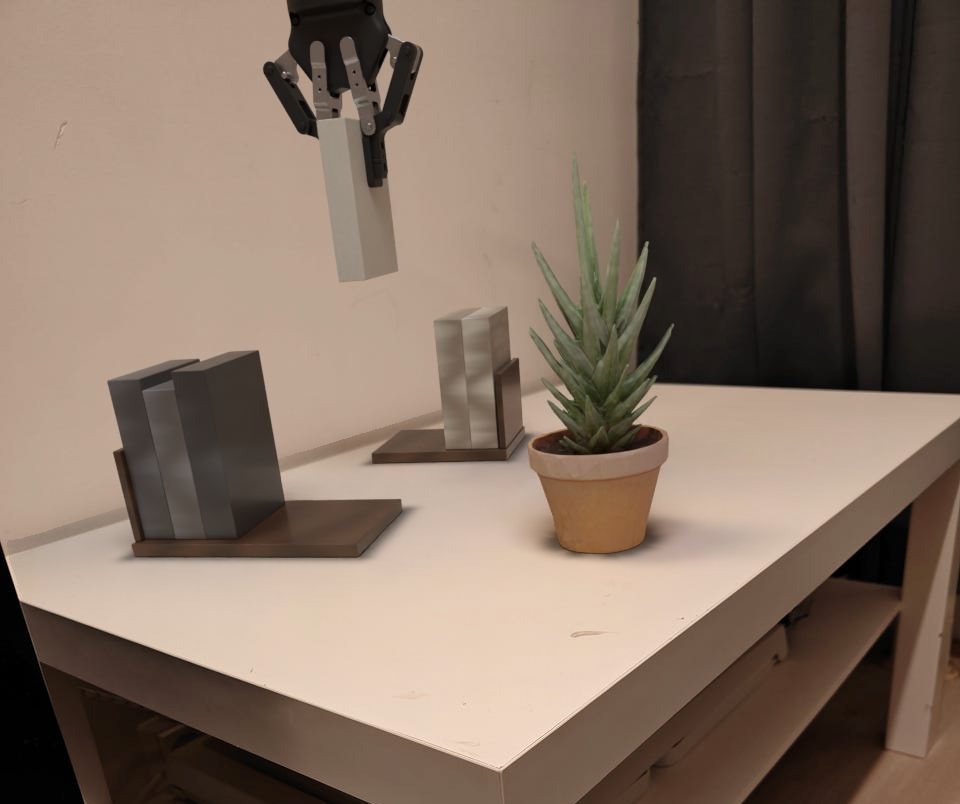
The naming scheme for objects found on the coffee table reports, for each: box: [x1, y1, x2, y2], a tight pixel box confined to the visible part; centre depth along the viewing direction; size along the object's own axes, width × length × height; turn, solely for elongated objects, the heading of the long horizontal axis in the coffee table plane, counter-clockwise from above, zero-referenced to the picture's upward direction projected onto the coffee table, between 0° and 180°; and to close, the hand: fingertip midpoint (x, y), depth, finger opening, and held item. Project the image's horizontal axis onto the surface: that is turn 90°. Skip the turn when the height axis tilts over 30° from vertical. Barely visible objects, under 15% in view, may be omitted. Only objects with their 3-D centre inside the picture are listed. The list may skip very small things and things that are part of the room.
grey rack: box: [106, 349, 403, 558], centre depth 71 cm, size 18×11×13 cm, turn 77°
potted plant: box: [527, 151, 675, 554], centre depth 61 cm, size 10×10×25 cm
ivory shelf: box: [371, 305, 526, 464], centre depth 92 cm, size 14×10×13 cm
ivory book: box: [316, 116, 399, 283], centre depth 80 cm, size 2×9×12 cm, turn 167°
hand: (358, 187), depth 79 cm, fingers closed on ivory book, 2 cm apart
